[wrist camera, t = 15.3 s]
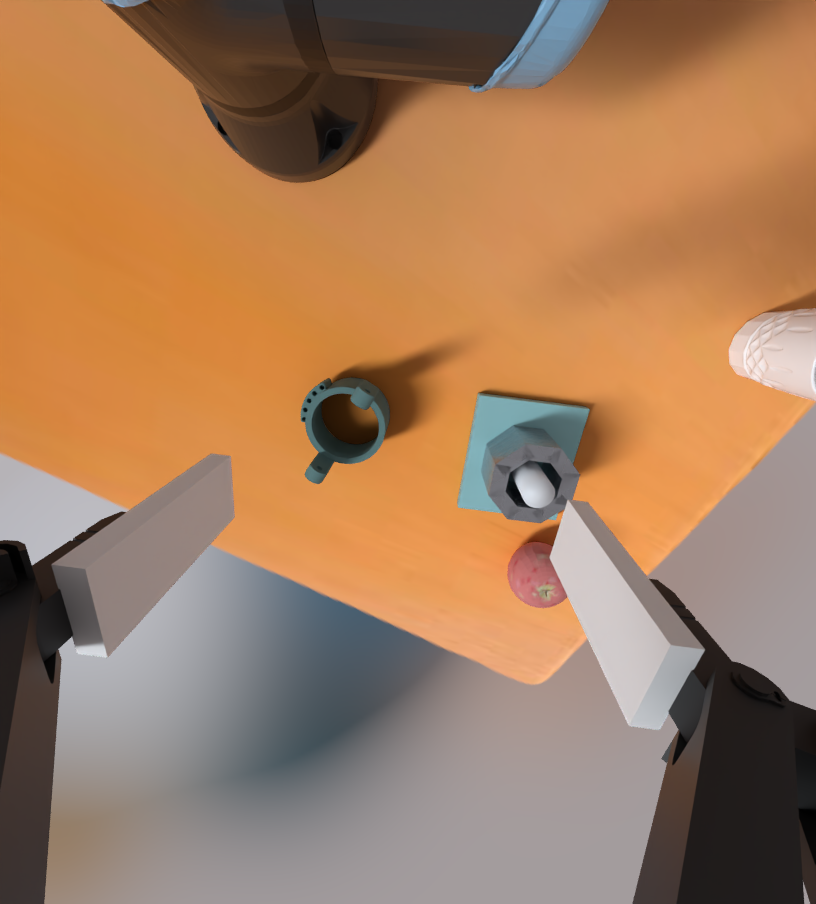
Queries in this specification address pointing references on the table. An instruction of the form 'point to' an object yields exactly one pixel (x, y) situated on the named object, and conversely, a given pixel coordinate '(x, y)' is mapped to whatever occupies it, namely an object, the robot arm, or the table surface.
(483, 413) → the stand
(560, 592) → the apple
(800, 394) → the white cup
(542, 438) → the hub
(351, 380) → the bracket
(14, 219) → the table surface
